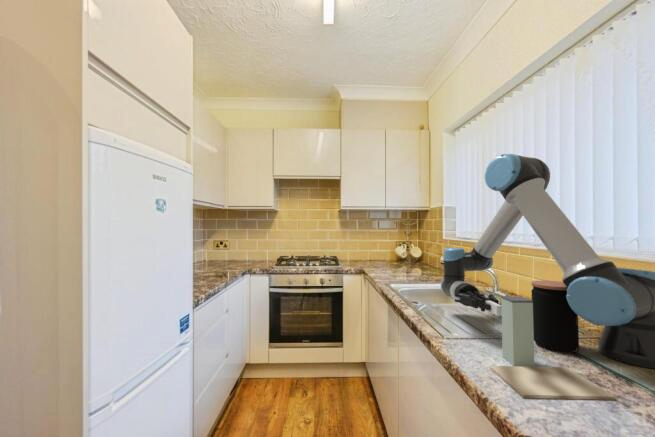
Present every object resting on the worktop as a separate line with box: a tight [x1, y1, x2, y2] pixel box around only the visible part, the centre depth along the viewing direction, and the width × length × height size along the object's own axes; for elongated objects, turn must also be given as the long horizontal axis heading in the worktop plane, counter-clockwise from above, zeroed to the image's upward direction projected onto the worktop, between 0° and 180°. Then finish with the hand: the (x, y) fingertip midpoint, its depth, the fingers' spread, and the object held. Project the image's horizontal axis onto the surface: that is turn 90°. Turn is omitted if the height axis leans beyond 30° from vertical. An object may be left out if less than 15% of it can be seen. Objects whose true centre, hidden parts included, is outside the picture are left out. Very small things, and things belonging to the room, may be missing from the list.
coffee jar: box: [530, 280, 580, 354], centre depth 88 cm, size 11×11×18 cm
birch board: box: [489, 365, 617, 401], centre depth 67 cm, size 18×13×1 cm
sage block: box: [500, 295, 535, 367], centre depth 77 cm, size 5×5×16 cm
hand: (499, 310), depth 85 cm, fingers closed
